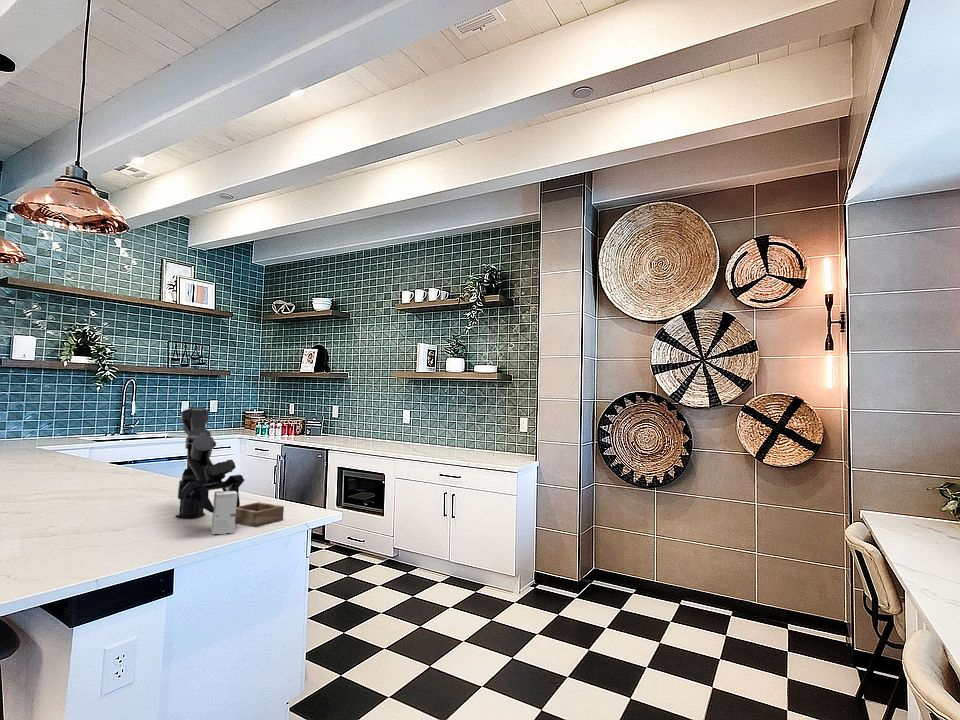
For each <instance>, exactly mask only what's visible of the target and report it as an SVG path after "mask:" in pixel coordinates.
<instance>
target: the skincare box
mask: <svg viewBox="0 0 960 720" xmlns="http://www.w3.org/2000/svg"><path fill="white" fill-rule="evenodd" d="M237 495H238V493H237V492H236V491H223V490H222V491H214V495H213V496H214V497H213V504H212V505H213V508H214V512H212V514H211V516H212V517H211V525H210V533H211V535H212V534H213V536H215V535H214V534H220V535H227V534H226V533H232V534H235V526H236V525H235V524H236V523H235V516H236V505H237Z"/></svg>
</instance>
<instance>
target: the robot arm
mask: <svg viewBox="0 0 960 720" xmlns="http://www.w3.org/2000/svg"><path fill="white" fill-rule="evenodd" d="M209 414H210V412H209V410H207V409H206V408H205V407H202V406H191V407H189V408H188V409H184V410H182V412H181V414H180V415H181V417H180V423H181V424H182V430H183V432H185V434H187V437H185V445H184V448H185V450H187V452H186V453H187V454H186V468H185V469H184V471H183V472H182V476H181V480H179V482H178V487H177V488H178V489H177V498H178V500H179V514H177V515H175V518H182V519H196V518H199V517H202V516H205V515H206V513H205V512H204V510H206V511H208V512H209V513H212V514H213V512H214V508H213V504H212V502H211V500H210V497H209V492H210V491H214V490H219V489H222V491H236V492H237V493H238V495H237V505H236V507H239V506H241V502H240V493H239V489H240V486H242V484H243V483H244V482H245V479H244V477H243V475H242V474H234V475H229V476H228V478H226V474H228V473H232V472H233V471H234V470H235V469H236V463H235V462H234V460H233V459H227V460H225V461H221V462H217V463H215V464H214V463H213V461H212V460H211V456H212V453H213V449H214V448H215V447H216V446H217V441H215V440H214V437H212V434H211V431H210V430H208V429H207V428H206V425H207V424H208V423H209V418H210V417H209V416H210V415H209ZM225 478H226V479H225ZM223 479H225V480H223Z"/></svg>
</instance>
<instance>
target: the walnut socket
mask: <svg viewBox="0 0 960 720" xmlns="http://www.w3.org/2000/svg"><path fill="white" fill-rule="evenodd" d="M284 509H285V508H284V505H283V506H282V505H278V504H272V503H266V502H259V501H256V502H254V503H249V504H244V505H243V504H242V505H240V506H239V507H236V516H235V522H236V523H235V524H237V523H241V524H240V525H242V524H245V525H244V526H247V525H250V526H249V527H252V526H254V527H253V528H258V527H257V526H259V527H262V526H265V524H266V525H270V524H273V522H274V523H277V521H278V522H280V520H281V521H283V520H284V512H285V510H284ZM269 523H270V524H269Z"/></svg>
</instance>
